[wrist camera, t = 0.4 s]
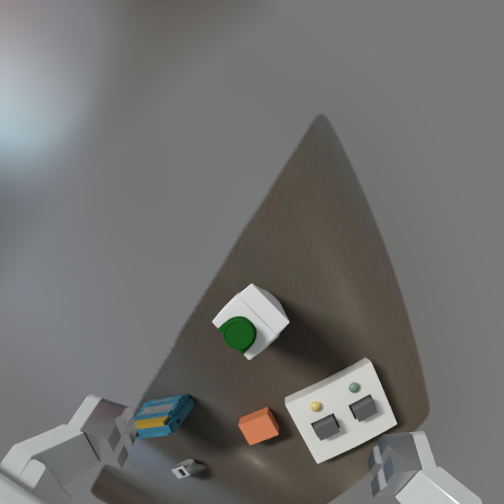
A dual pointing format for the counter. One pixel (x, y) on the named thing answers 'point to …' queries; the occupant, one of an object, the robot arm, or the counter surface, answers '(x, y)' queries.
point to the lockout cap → (259, 426)
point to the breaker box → (341, 410)
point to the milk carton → (251, 321)
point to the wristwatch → (184, 468)
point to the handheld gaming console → (162, 416)
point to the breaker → (364, 408)
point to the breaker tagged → (326, 427)
